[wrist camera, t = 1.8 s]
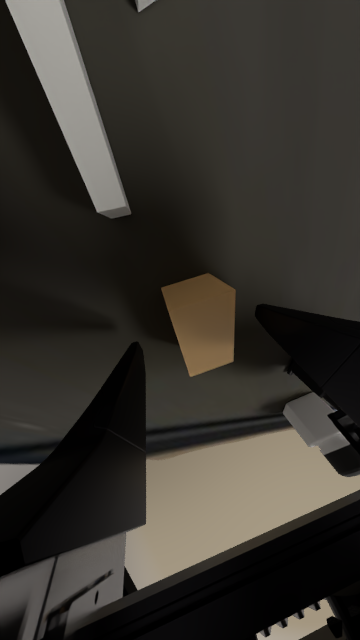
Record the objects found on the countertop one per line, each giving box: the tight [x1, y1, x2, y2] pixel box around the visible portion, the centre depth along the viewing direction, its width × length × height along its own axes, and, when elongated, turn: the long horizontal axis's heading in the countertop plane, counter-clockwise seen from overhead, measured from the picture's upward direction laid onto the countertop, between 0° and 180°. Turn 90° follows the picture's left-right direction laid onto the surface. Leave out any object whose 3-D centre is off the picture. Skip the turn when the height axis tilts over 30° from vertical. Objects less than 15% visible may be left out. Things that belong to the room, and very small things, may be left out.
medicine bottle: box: [283, 392, 360, 477], centre depth 28 cm, size 7×7×12 cm
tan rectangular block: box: [161, 273, 236, 377], centre depth 10 cm, size 4×6×4 cm, turn 13°
